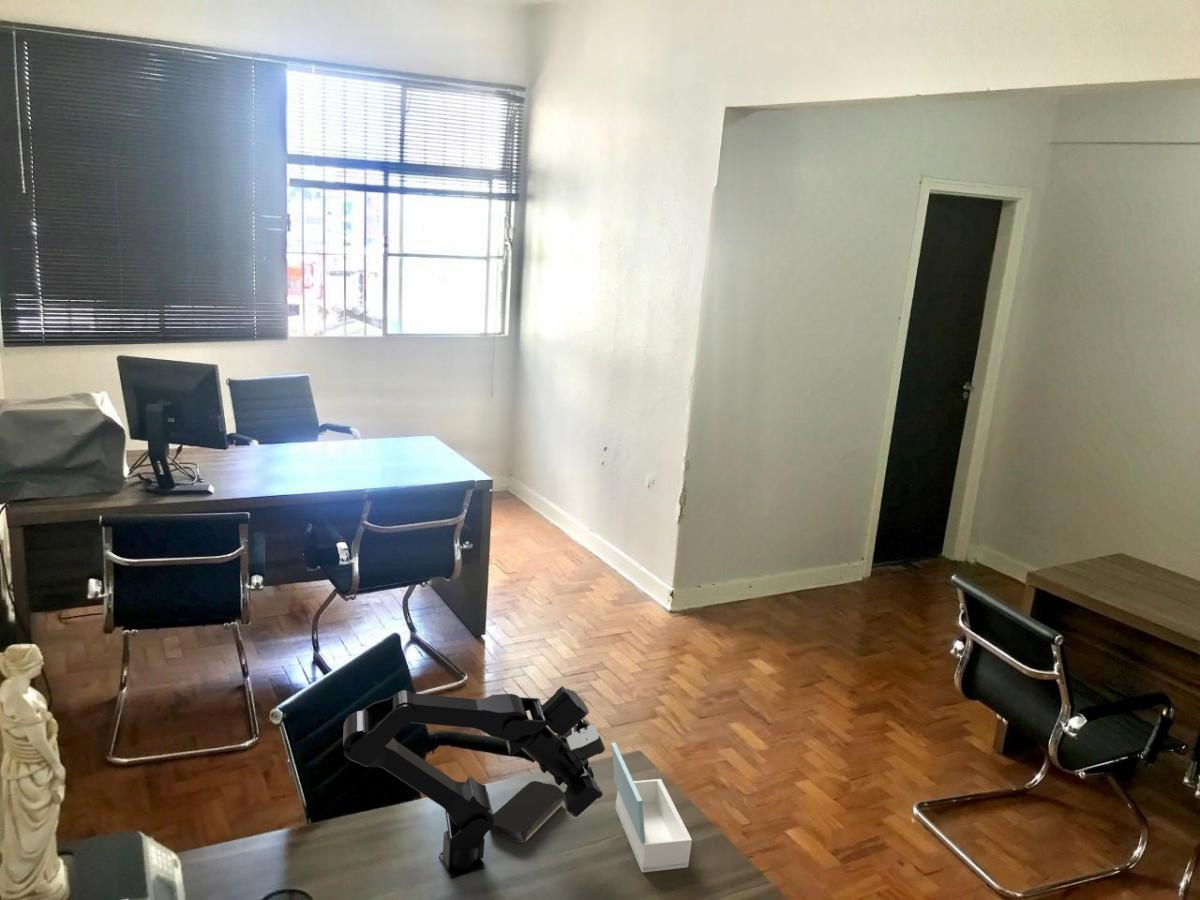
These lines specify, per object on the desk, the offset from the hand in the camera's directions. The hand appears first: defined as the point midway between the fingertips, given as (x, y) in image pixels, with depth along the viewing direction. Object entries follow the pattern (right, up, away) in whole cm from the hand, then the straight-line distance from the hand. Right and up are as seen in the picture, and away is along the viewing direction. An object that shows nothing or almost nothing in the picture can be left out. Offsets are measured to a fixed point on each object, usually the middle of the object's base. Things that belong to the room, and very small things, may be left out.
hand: (600, 795), depth 165 cm
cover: (+6, 0, +3) cm, 6 cm away
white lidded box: (+10, -11, +8) cm, 16 cm away
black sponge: (-15, -9, +10) cm, 19 cm away
